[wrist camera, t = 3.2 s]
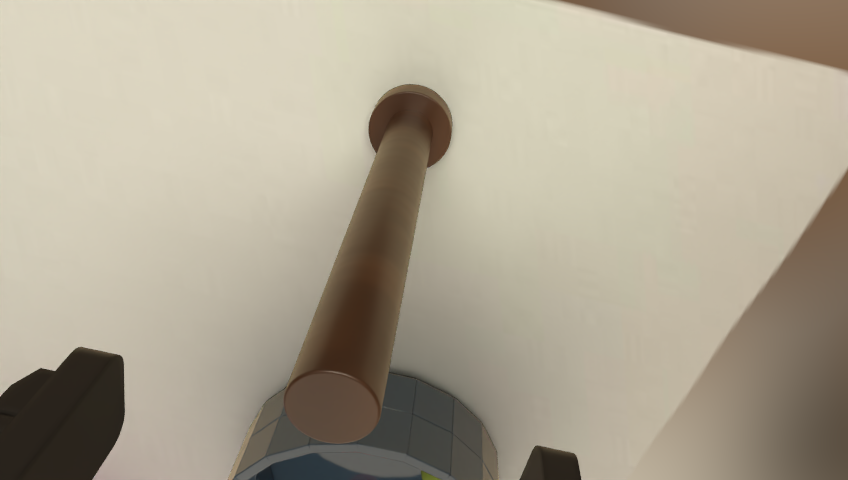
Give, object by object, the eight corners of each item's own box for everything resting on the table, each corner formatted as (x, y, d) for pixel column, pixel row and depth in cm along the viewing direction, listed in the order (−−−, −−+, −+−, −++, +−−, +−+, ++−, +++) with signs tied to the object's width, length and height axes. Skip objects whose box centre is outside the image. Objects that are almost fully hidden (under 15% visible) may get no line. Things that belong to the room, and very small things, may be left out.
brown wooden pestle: (460, 94, 28) (438, 360, 12) (442, 168, 30) (400, 486, 14) (380, 75, 28) (250, 320, 12) (366, 151, 29) (237, 452, 14)
